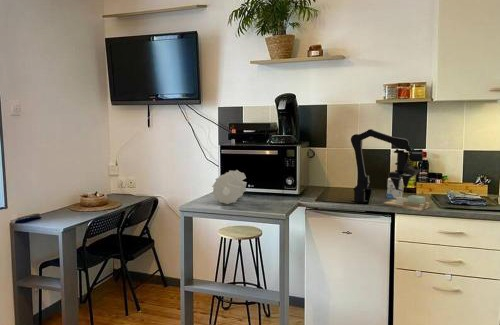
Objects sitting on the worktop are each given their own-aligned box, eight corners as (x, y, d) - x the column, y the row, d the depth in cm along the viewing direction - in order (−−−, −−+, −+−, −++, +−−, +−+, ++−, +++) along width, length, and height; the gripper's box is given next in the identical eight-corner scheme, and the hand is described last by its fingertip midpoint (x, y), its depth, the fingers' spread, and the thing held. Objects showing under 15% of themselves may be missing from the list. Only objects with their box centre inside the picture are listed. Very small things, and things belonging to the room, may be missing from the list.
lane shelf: (419, 210, 204) (420, 205, 203) (383, 204, 220) (383, 199, 219) (430, 207, 211) (430, 202, 211) (394, 201, 227) (394, 196, 227)
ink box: (386, 197, 237) (387, 178, 235) (387, 196, 241) (388, 177, 240) (401, 199, 233) (402, 179, 231) (402, 197, 237) (403, 178, 236)
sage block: (420, 207, 207) (420, 198, 206) (394, 202, 218) (395, 194, 217) (424, 205, 210) (425, 196, 209) (399, 201, 221) (399, 193, 221)
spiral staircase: (219, 211, 223) (228, 200, 247) (246, 199, 219) (252, 189, 243) (204, 183, 221) (215, 175, 246) (231, 170, 217) (239, 163, 242)
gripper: (407, 163, 203) (406, 193, 205) (424, 161, 215) (423, 188, 217) (388, 162, 211) (387, 190, 213) (405, 159, 223) (404, 186, 225)
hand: (401, 188), depth 217 cm, fingers open, 9 cm apart
